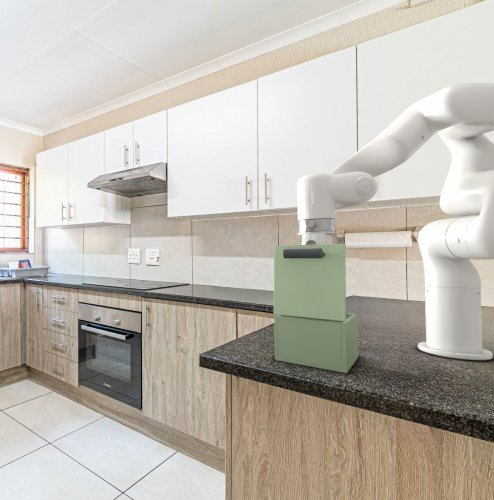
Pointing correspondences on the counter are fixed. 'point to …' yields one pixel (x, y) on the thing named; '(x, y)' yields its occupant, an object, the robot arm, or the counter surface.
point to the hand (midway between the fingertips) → (317, 305)
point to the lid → (310, 281)
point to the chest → (317, 341)
